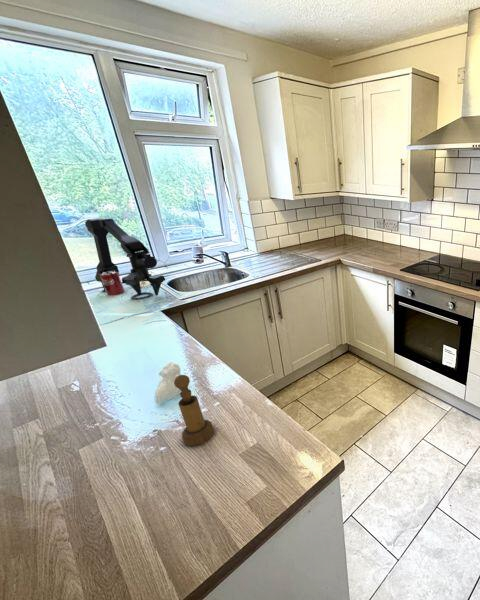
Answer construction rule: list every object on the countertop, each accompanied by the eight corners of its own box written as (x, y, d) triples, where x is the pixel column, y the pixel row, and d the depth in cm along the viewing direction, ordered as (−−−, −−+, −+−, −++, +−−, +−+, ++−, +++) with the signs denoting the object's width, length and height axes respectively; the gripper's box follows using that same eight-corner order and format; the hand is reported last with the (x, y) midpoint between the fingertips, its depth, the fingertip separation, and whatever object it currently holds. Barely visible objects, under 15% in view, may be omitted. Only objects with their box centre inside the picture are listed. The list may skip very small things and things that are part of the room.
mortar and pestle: (192, 427, 85) (173, 369, 78) (218, 425, 86) (201, 367, 79) (178, 447, 79) (157, 386, 72) (206, 445, 80) (187, 384, 73)
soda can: (115, 297, 170) (107, 275, 166) (104, 296, 172) (95, 274, 167) (128, 292, 177) (121, 271, 172) (117, 291, 178) (110, 270, 174)
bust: (167, 414, 93) (185, 384, 91) (138, 404, 90) (156, 373, 88) (183, 388, 104) (200, 361, 102) (157, 378, 101) (174, 350, 99)
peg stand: (130, 288, 183) (126, 275, 180) (143, 282, 191) (139, 270, 188) (145, 288, 182) (141, 275, 179) (157, 283, 191) (153, 270, 188)
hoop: (126, 301, 165) (125, 298, 165) (141, 294, 174) (140, 291, 173) (143, 301, 165) (142, 298, 164) (157, 294, 173) (156, 292, 173)
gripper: (107, 270, 156) (117, 300, 162) (144, 271, 154) (153, 301, 160) (126, 263, 166) (136, 292, 172) (161, 264, 165) (170, 293, 171)
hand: (148, 295), depth 168 cm, fingers open, 9 cm apart
